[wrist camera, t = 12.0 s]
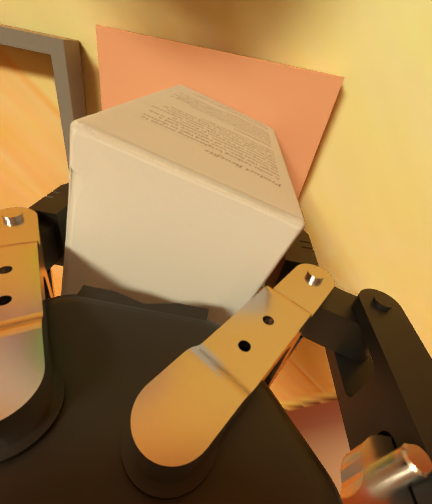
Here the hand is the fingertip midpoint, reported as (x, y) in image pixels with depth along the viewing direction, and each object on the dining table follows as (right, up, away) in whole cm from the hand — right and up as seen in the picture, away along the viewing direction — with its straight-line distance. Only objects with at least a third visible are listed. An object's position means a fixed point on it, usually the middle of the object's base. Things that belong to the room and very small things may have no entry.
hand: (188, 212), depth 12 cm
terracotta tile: (+1, +4, +5) cm, 6 cm away
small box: (+1, +3, +4) cm, 5 cm away
